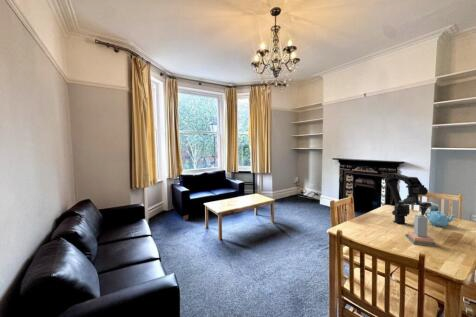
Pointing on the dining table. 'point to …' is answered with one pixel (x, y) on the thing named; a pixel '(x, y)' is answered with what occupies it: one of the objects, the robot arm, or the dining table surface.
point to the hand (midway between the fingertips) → (415, 215)
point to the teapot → (438, 218)
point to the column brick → (420, 226)
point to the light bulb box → (432, 208)
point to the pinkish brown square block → (420, 239)
